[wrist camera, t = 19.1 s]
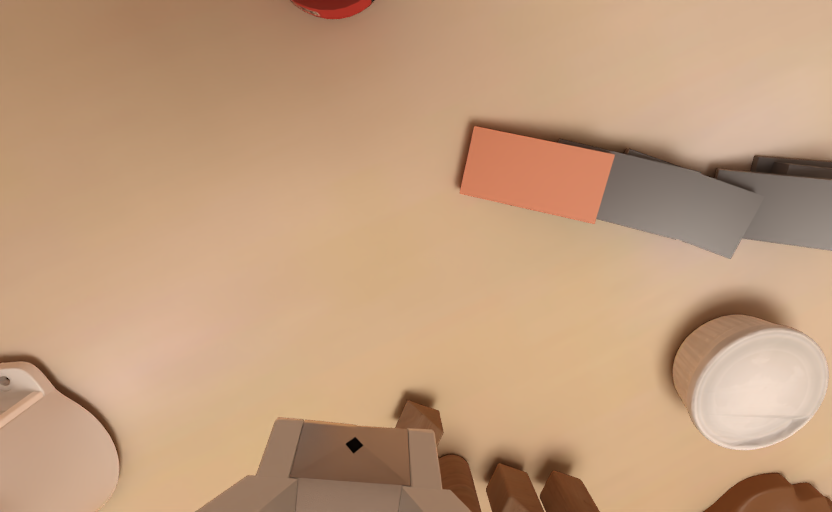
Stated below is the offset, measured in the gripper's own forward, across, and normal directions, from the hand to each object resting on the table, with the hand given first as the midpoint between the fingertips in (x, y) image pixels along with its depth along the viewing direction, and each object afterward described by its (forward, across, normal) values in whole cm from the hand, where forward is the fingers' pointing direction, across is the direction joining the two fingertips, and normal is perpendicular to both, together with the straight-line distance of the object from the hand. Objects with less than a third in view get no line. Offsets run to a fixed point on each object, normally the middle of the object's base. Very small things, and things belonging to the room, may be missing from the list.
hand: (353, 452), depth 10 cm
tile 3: (+30, -26, -2) cm, 40 cm away
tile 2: (+30, -18, -3) cm, 35 cm away
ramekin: (+31, -32, +12) cm, 46 cm away
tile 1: (+30, -13, -3) cm, 33 cm away
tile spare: (+30, -6, -3) cm, 31 cm away
